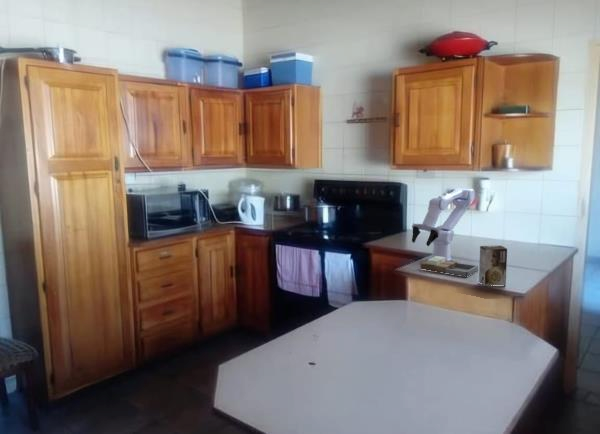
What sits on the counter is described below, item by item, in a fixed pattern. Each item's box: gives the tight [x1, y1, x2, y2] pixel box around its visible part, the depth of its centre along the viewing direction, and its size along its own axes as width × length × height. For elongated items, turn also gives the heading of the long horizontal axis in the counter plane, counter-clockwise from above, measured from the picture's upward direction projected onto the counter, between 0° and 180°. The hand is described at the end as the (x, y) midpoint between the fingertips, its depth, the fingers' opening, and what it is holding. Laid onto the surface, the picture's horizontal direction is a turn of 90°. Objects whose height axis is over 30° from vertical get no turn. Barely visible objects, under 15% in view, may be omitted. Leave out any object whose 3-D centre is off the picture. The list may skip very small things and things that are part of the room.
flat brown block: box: [420, 260, 458, 273], centre depth 225 cm, size 14×12×3 cm
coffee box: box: [478, 245, 508, 287], centre depth 198 cm, size 9×6×16 cm
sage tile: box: [426, 257, 441, 265], centre depth 223 cm, size 4×4×2 cm
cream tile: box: [432, 256, 445, 263], centre depth 227 cm, size 4×4×2 cm
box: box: [446, 262, 479, 278], centre depth 218 cm, size 14×10×2 cm
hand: (420, 243), depth 227 cm, fingers open, 7 cm apart
